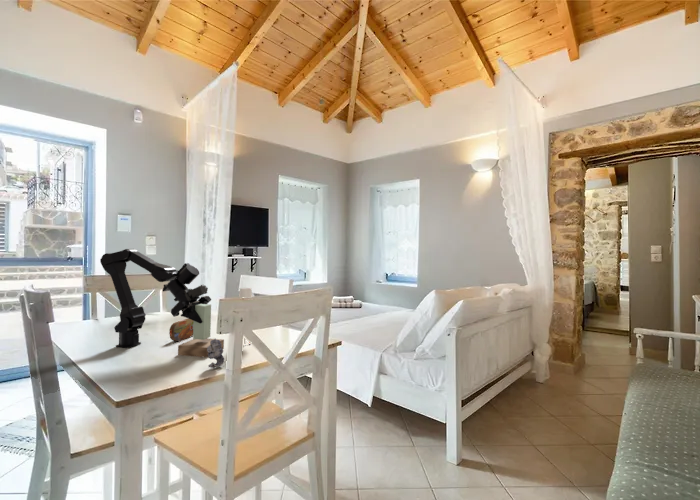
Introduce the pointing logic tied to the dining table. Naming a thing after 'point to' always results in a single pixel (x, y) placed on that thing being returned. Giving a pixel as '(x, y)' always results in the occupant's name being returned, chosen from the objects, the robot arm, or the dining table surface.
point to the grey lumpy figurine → (215, 353)
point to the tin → (181, 330)
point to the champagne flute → (245, 293)
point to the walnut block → (196, 347)
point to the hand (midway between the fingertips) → (205, 321)
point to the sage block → (204, 328)
